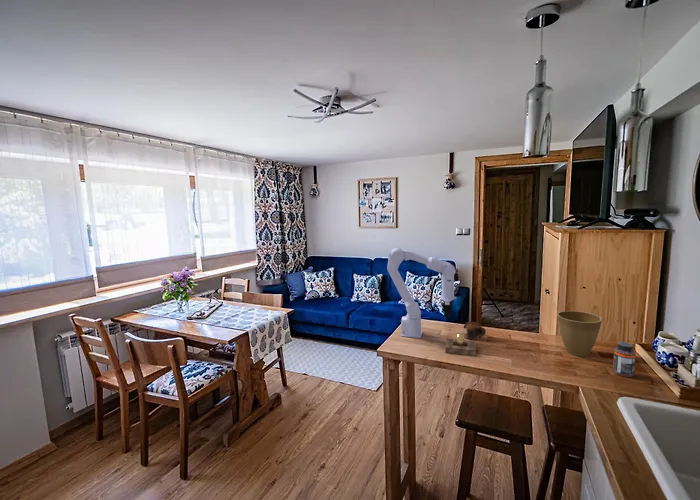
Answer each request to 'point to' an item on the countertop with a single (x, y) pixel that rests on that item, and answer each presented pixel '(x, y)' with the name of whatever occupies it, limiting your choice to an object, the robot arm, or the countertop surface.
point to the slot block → (460, 347)
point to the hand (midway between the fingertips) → (447, 315)
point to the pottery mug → (474, 330)
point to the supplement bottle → (624, 360)
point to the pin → (460, 339)
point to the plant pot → (579, 331)
